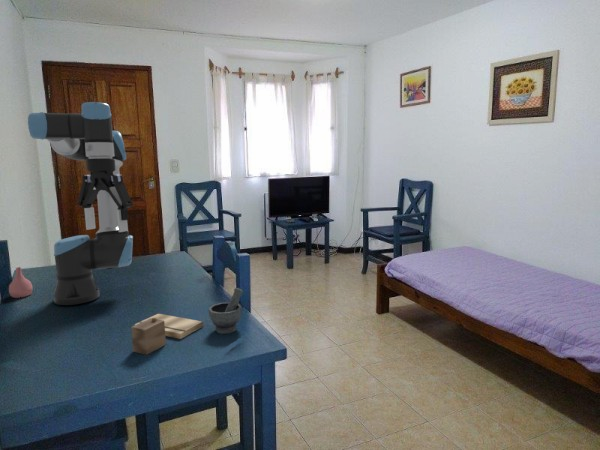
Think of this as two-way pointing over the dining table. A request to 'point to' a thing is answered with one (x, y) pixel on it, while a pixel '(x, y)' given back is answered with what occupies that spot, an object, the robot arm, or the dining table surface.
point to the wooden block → (148, 336)
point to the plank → (177, 325)
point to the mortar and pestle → (227, 313)
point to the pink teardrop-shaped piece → (20, 285)
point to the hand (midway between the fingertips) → (106, 230)
